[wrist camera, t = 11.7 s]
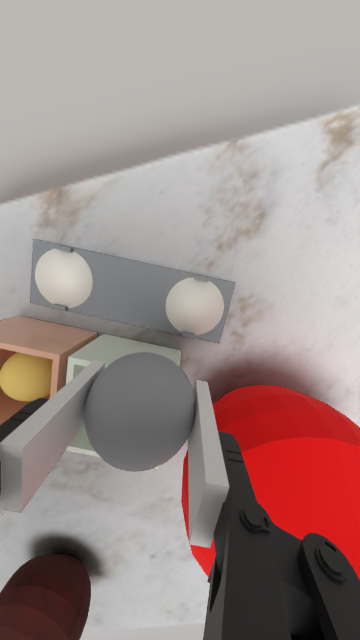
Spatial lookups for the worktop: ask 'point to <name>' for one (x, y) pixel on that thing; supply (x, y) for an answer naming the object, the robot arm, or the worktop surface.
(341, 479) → the vase
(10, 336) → the salmon open box
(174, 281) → the slate card
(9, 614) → the potato
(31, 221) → the worktop surface
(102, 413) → the ball grey
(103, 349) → the sage open box
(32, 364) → the ball mustard
